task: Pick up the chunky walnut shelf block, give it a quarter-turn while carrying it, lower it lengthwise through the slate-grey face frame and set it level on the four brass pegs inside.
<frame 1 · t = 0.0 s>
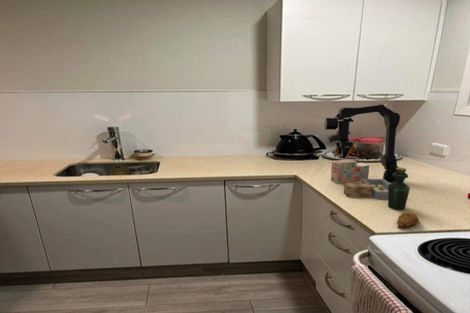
hand: (341, 156, 150), 15 cm above the worktop, fingers open, 9 cm apart
potion bottle: (396, 207, 115), on the worktop
croissant: (407, 225, 100), on the worktop
frame: (379, 191, 134), on the worktop
stack of blocks: (349, 180, 153), on the worktop
board: (357, 195, 130), on the worktop
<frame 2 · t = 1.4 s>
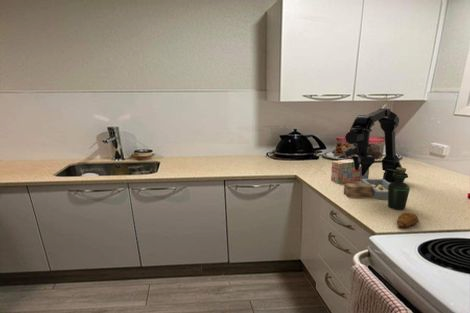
hand: (359, 172, 128), 12 cm above the worktop, fingers open, 9 cm apart
nothing on the worktop moved.
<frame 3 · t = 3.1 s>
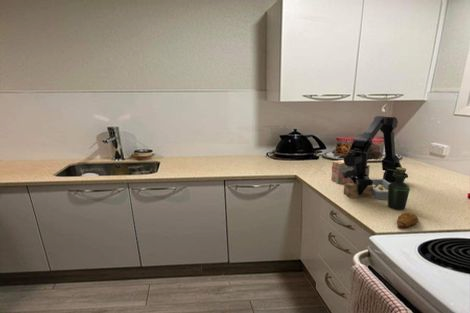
hand: (357, 193, 130), 1 cm above the worktop, fingers closed on board, 5 cm apart
board: (357, 195, 130), on the worktop, touching gripper
everything else where it was.
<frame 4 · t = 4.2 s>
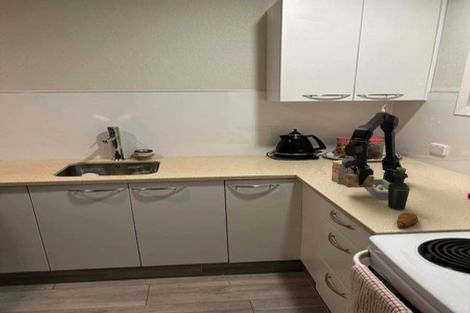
hand: (358, 183, 129), 6 cm above the worktop, fingers closed on board, 5 cm apart
board: (358, 185, 129), point 5 cm above the worktop, touching gripper
everything else where it was.
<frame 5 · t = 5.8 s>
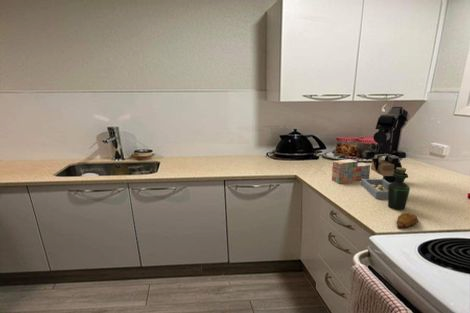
hand: (381, 170, 132), 11 cm above the worktop, fingers closed on board, 5 cm apart
board: (381, 172, 132), point 10 cm above the worktop, touching gripper
everything else where it was.
when the fingers open (4 cm above the worktop, at t = 7.7 s): board stays where it is, point 3 cm above the worktop.
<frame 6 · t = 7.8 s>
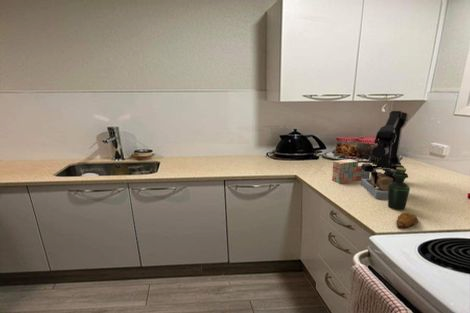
hand: (380, 183, 133), 4 cm above the worktop, fingers open, 5 cm apart
board: (380, 185, 134), point 3 cm above the worktop
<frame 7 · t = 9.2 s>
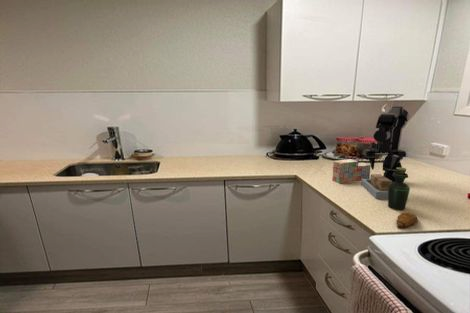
hand: (382, 169, 132), 12 cm above the worktop, fingers open, 9 cm apart
board: (380, 187, 134), point 2 cm above the worktop, touching frame
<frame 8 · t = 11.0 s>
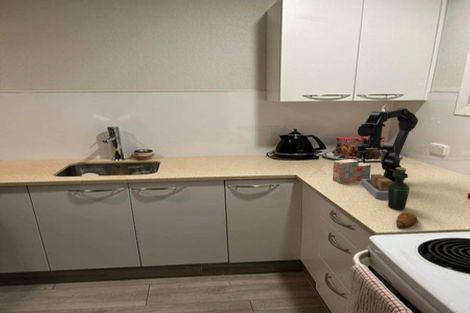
hand: (372, 163, 141), 13 cm above the worktop, fingers open, 9 cm apart
at the end: board 0.0 cm off-centre on the frame, point 2.0 cm above the frame's base; board tilted 0°; the gripper is holding nothing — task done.
